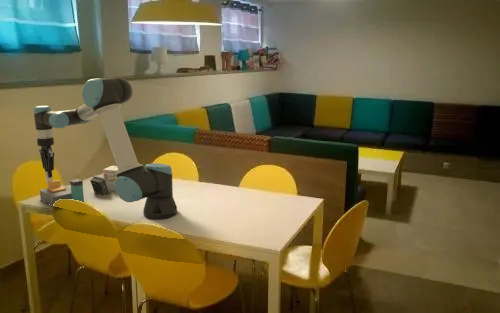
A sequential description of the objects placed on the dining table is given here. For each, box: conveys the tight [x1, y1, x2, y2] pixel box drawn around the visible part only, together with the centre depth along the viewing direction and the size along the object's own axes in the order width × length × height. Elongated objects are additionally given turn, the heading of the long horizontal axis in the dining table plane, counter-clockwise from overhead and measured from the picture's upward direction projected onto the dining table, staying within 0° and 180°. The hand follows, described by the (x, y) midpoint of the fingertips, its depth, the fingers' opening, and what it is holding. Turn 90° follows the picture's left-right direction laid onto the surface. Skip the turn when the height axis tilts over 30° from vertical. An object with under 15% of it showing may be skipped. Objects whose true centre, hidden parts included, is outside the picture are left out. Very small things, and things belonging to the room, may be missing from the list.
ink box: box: [102, 165, 118, 192], centre depth 232 cm, size 9×8×12 cm
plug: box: [69, 178, 85, 203], centre depth 207 cm, size 4×4×12 cm
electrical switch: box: [89, 175, 111, 196], centre depth 224 cm, size 9×5×9 cm, turn 57°
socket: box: [39, 184, 72, 207], centre depth 213 cm, size 16×12×5 cm
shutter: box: [47, 179, 66, 192], centre depth 213 cm, size 6×6×4 cm
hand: (49, 182), depth 219 cm, fingers closed
